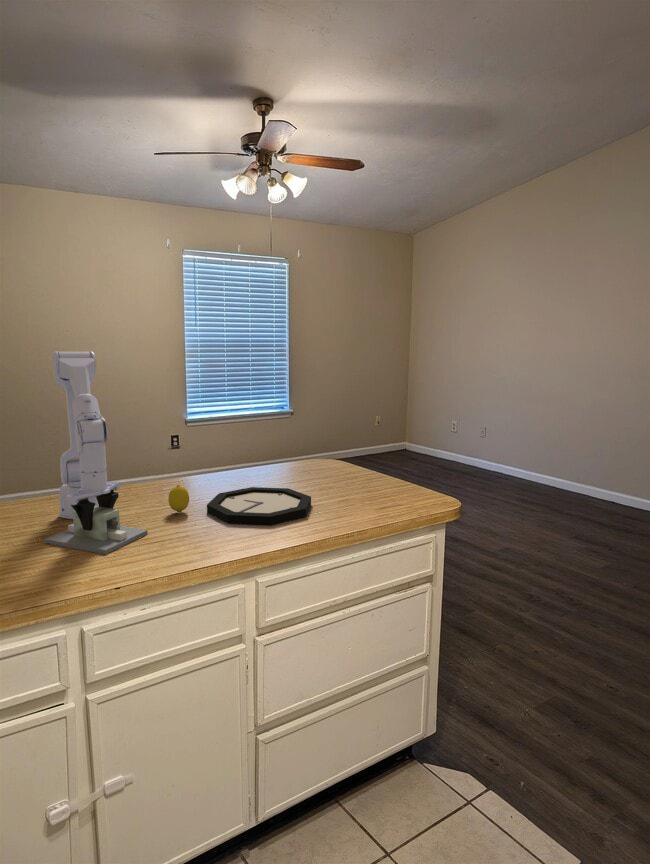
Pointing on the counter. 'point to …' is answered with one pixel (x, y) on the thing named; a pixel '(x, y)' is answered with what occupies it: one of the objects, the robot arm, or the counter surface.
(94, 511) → the cabinet block
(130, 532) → the cleat board
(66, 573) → the counter surface
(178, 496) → the lemon
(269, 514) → the wall clock
